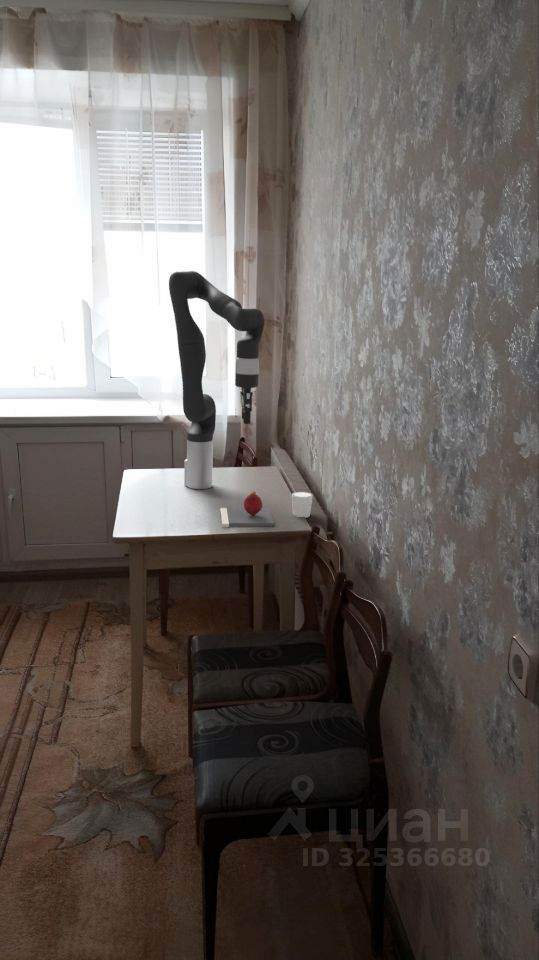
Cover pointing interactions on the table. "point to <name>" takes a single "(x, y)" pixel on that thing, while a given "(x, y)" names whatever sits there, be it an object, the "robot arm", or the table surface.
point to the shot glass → (301, 503)
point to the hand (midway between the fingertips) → (245, 421)
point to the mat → (245, 518)
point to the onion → (253, 504)
